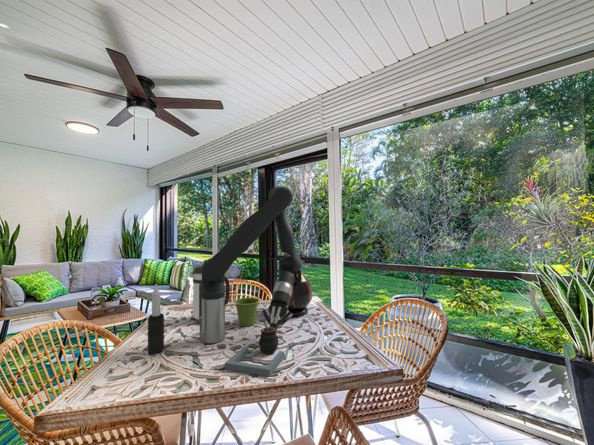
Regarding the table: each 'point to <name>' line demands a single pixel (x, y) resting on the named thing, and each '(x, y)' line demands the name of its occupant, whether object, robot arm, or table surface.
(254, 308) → the plant pot
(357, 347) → the table surface
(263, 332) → the mate gourd
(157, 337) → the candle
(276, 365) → the frame
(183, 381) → the table surface
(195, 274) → the coffee press
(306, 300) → the amphora vase
